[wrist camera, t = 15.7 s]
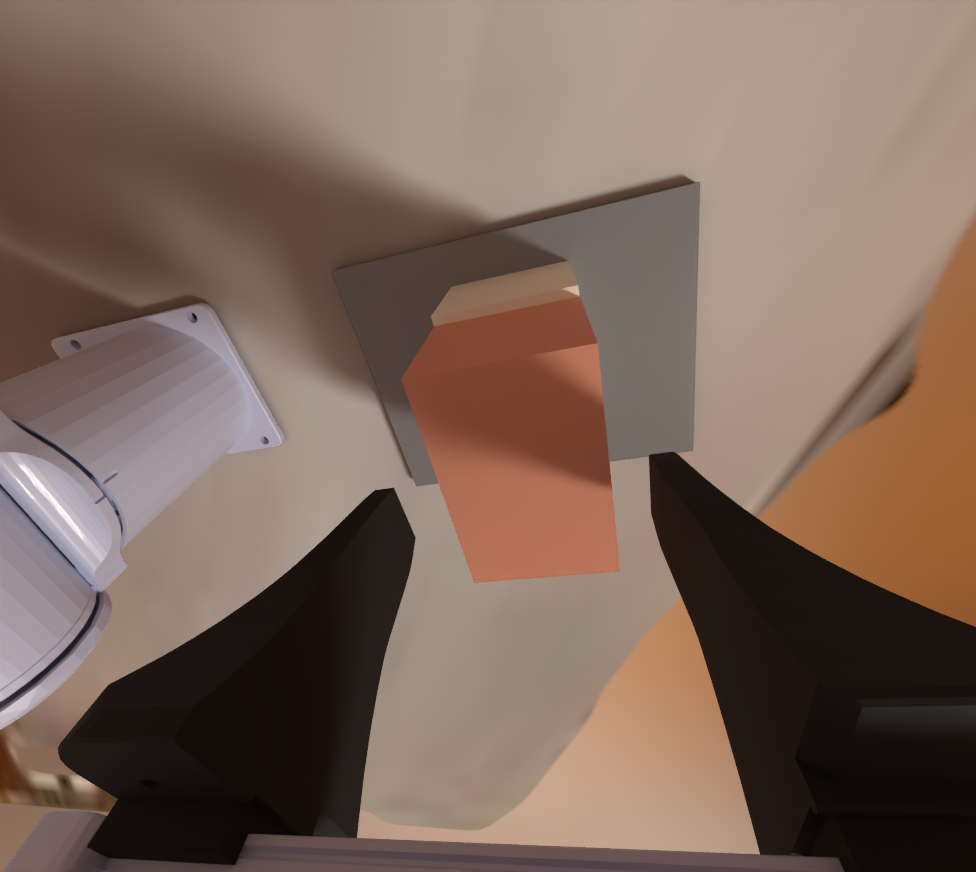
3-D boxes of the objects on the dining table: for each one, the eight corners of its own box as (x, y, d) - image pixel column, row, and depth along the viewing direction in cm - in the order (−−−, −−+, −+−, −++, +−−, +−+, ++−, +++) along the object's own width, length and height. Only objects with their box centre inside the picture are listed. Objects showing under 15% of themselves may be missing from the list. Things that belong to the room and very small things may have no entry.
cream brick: (492, 440, 22) (484, 494, 18) (451, 286, 18) (430, 316, 14) (588, 426, 21) (600, 480, 18) (568, 260, 17) (578, 284, 14)
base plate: (418, 480, 25) (416, 486, 24) (335, 269, 19) (331, 271, 18) (689, 445, 22) (693, 450, 21) (695, 181, 16) (700, 182, 15)
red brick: (485, 500, 19) (474, 582, 15) (434, 326, 15) (400, 378, 11) (601, 487, 18) (619, 571, 14) (580, 296, 14) (597, 343, 10)
